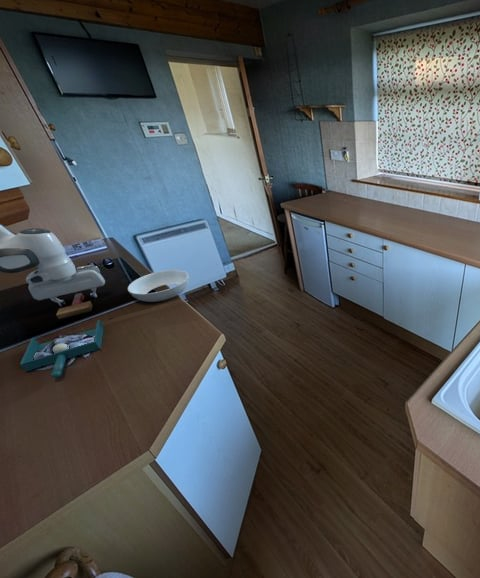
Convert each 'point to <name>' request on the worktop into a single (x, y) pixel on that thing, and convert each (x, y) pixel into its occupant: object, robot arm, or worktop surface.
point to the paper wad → (60, 347)
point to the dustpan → (61, 356)
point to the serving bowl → (157, 279)
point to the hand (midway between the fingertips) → (79, 301)
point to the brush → (75, 307)
